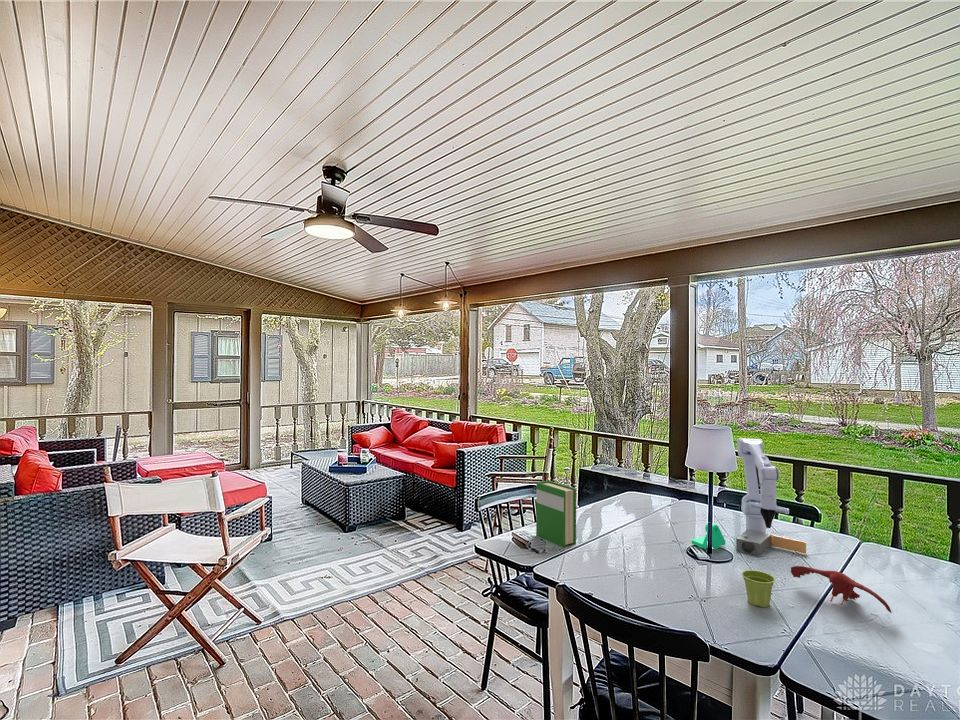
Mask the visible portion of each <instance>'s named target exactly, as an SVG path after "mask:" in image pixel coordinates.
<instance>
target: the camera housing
mask: <svg viewBox="0 0 960 720" xmlns="http://www.w3.org/2000/svg"><path fill="white" fill-rule="evenodd" d="M771 535H772V534H771V533H767V532H766V533H763V532H758V531H754V530H749V529H748V530H746V529H745V531H744V532H743V533H741V534H739V536H737V537H736V541H735V542H736V543H735V544H736V545H735V547H736V548H735V549H736V551H737V552H738V551H739V552H741V553H742V552H743V553H746V554H749V553H750V554H749V555H753V554H754V556H757V555H758V557H761V556H762V555H764V554H765V553H766V552H767V551H768V550H769V549H770V548H771V547H772V546H771ZM770 546H771V547H770ZM769 547H770V548H769ZM768 548H769V549H768ZM767 549H768V550H767ZM766 550H767V551H766Z"/></svg>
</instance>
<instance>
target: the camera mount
mask: <svg viewBox="0 0 960 720" xmlns="http://www.w3.org/2000/svg"><path fill="white" fill-rule="evenodd" d="M708 523H709V522H708ZM708 523H706V525H705V532H706V534H705V536H702V537H696V538H692V539H691V544H692V545H694V546H697V547H699V548H700V549H701V548H702V549H704V550H707V549H706V548H707V541H708ZM721 546H726V539H725V537H724V535H723V533H722V531H721V528H720V526H719V525H717V524H714V523H712V547H713V548H714V550H716V549H715V548H719V549H720V548H721Z"/></svg>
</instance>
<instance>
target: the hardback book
mask: <svg viewBox="0 0 960 720" xmlns="http://www.w3.org/2000/svg"><path fill="white" fill-rule="evenodd" d="M535 484H536V490H535V491H536V493H535V496H536V497H535V499H536V500H535V501H536V502H535V503H536V504H535V505H536V507H535V509H536V513H535V514H536V515H535V516H536V519H535V522H536V523H535V527H536V528H535V531H536V533H535V536H536V537H538V538H540V539H543V540H546V541H547V542H549V543H553V544H554V545H556V546H559V547H561V548H563V549H564V548H566V545H570V544H572V545H577V488H576V487H573V486H568V485H566V484H562V483H559V482H555V481H552V480H549V479H548V480H543V481H539V482H537V481H536V483H535Z"/></svg>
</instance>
